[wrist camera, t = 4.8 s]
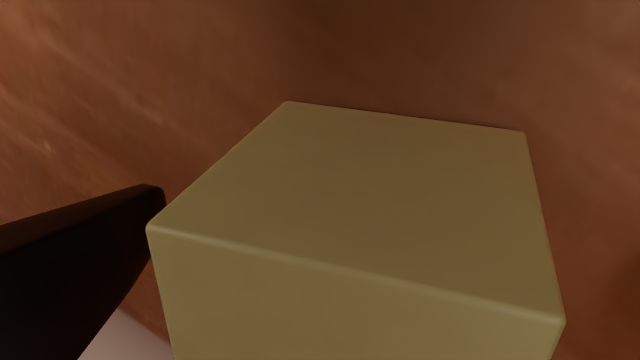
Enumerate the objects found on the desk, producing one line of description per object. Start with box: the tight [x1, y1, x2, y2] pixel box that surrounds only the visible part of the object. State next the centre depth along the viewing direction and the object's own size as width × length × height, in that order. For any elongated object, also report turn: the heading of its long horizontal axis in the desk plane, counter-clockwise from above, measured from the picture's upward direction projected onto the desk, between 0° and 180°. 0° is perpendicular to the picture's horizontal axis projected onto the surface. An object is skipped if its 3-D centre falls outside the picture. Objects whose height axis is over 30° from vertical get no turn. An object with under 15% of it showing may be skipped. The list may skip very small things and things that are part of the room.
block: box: [145, 101, 566, 360], centre depth 7 cm, size 4×4×4 cm
